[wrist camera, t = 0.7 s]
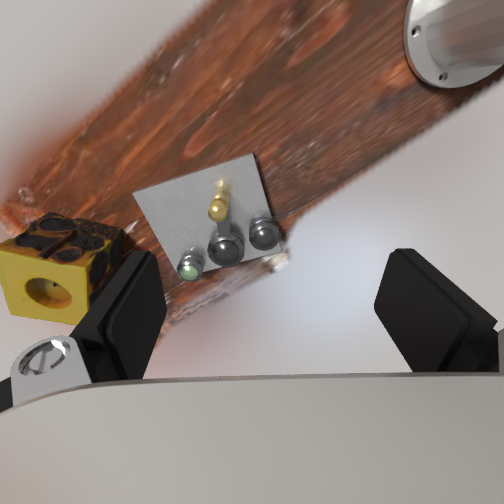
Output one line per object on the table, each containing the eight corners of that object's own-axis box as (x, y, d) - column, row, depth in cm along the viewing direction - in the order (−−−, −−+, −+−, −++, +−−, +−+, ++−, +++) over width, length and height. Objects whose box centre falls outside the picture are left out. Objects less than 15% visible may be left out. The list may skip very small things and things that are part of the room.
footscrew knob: (245, 258, 38) (245, 283, 33) (211, 260, 38) (205, 284, 33) (241, 187, 32) (239, 203, 27) (201, 189, 32) (192, 205, 27)
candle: (48, 210, 36) (-16, 245, 27) (124, 227, 37) (86, 265, 28) (57, 269, 41) (5, 315, 32) (123, 282, 42) (91, 329, 33)
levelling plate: (256, 150, 32) (257, 156, 28) (283, 245, 38) (286, 260, 35) (136, 189, 34) (123, 199, 30) (182, 272, 41) (175, 288, 37)
